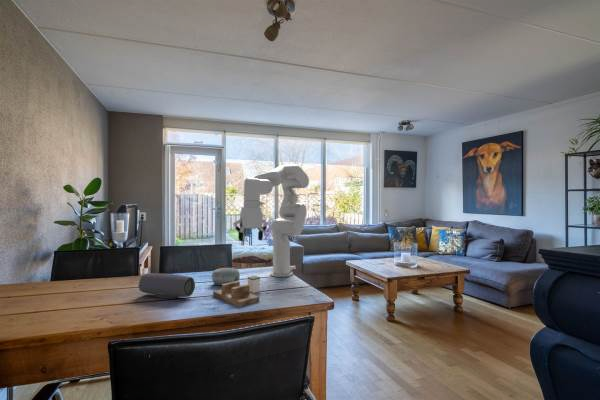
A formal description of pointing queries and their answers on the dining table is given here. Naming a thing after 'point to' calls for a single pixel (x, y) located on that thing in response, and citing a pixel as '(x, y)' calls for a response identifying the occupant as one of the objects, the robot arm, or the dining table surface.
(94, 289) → the dining table surface
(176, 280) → the bluetooth speaker
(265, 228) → the robot arm
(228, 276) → the grey yarn ball
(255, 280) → the white rectangular block
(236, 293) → the notched board
